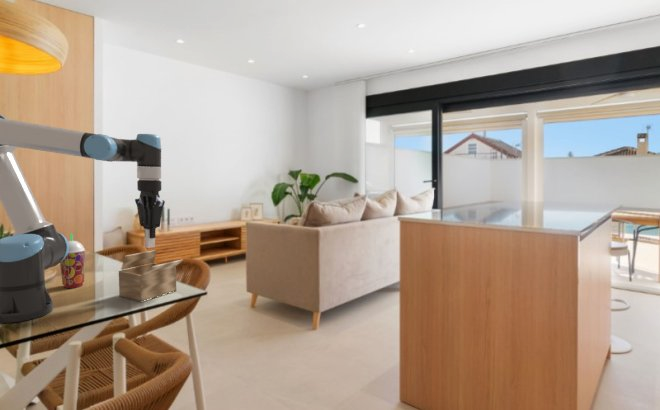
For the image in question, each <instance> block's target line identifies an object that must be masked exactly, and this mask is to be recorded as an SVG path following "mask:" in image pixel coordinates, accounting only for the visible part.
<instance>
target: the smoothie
mask: <svg viewBox="0 0 660 410" xmlns="http://www.w3.org/2000/svg"><path fill="white" fill-rule="evenodd" d="M67 241H68V243H69V251H68V254H67V256H66V257H65V259H64V260H63V261H61V262H60V263H59V266H60V273H61V280H62V281H61V282H62V285H63V287H64V288H65V289H76V288H80V287H82V286H83V284H84V282H85V269H86V267H85V264H86V248H84V245H83V244H82V243H80V242H79V241H77V240H74V236H73V233H70V240H67Z"/></svg>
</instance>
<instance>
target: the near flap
mask: <svg viewBox="0 0 660 410" xmlns="http://www.w3.org/2000/svg"><path fill="white" fill-rule="evenodd" d="M183 261H184V259H183V258H181V259H178V260H173V261H169V262H165V263H161V264H160V263H159V264H160V265H155V266H152V267H151V268H149V269H148V270H147V271H146V272H145V273H144V274H143V275H146V274H150V273H154V272H158V271H162V270H166V269H170V268H174V267H176V268H177V266H178V265H180V264H181V263H182V262H183Z"/></svg>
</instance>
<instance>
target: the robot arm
mask: <svg viewBox="0 0 660 410" xmlns="http://www.w3.org/2000/svg"><path fill="white" fill-rule="evenodd" d="M17 148H23V149H28V150H34V151H35V150H36V151H39V152H40V151H41V152H49V153H54V154H55V153H56V154H63V155H68V156H75V157H81V158H85V159H92V160H93V159H94V160H97V161H102V162H103V161H104V162H124V163H125V162H132V163H133V162H135V163H136V178H137V179H138V180H137V191H139V192H140V194H139V198H135V199H134V202H135V204H136V208H137V213H138V220H139V226H140V227H142V228H143V229H144V239H145V244H144V245H145V248H146V249H151V248H155V247H156V229H158V228H160V226H161V222H162V215H163V210H164V209H163V208H164V205H165V204H166V201H165V200H164V199H163V200H162V199H161V198H160V197H161V196H160V192H161V191H162V181H161V180H160V179H162V143H161V137H160V136H159V135H158V134H152V133H138V134H137V135H136V138H135V139H127V138H126V139H125V138H124V139H122V138H117V137H112V136H109V135H105V134H102V133H97V134H96V133H91V132H86V131H85V132H84V131H80V130H73V129H67V128H62V127H61V128H60V127H57V126H49V125H44V124H37V123H31V122H25V121H21V120H19V121H18V120H16V119H15V120H13V119H9V118H7V117H6V116H4V115H2V114H0V202H1V205H2V207H3V209H4V211H5V214H6V215H7V217H8V219H9V221H10V223H11V225H12V227H13V230H14V233H13V234H12V235H11V236H6V237H2V238H0V324H8V323H19V322H24V321H29V320H34V319H37V318H40V317H43V316H45V315H48V314H50V313H51V312H52V311H53V309H54V302H53V300H52V299H53V298H52V297H51V296H50V294H49V291H48V289H47V286H46V281H45V278H46V277H45V271H47V270H48V269H51V268H53V267H56V266H58V265H60V262H61V261H63V260H64V259H65V257H66V256H67V254H68V251H69V243H68V241H69V240H68V239H67V238H66V236H64V234H62V233H60V232H58V231H57V229H56V228H55V225H54V223H52V222H49V221H47V220H46V219H45V217H44V215H43V212H42V210H41V208H40V206H39V204H38V202H37V199H36V198H35V196H34V193H33V191H32V188H31V187H30V185H29V183H28V181H27V179H26V176H25V174H24V172H23V170H22V169H21V165H20V164H19V162H18V160H17V158H16V155H15V154H14V153H15V151H16V149H17Z"/></svg>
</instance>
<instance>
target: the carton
mask: <svg viewBox="0 0 660 410" xmlns="http://www.w3.org/2000/svg"><path fill="white" fill-rule="evenodd" d="M155 265H160V263H150V264H146V265H141V266H137V267H132V268H128V269H123V270H121V269H120V270H118V292H119V295H118V296H119V297H120V298H124V299H128V300H131V301H135V300H136V301H135V302H139V301H144V300H147V299H150V298H154V297H157V296H160V297H162V296H161V295H163V294H166V293H169V292H173V291H176V292H177V266H176V267H174V268H170V269H166V270H162V271H158V272H154V273H150V274H146V275H143V274H144V273H145V272H146V271H147V270H148V269H149V268H151V267H152V266H155ZM173 293H174V292H173ZM157 298H158V297H157ZM154 299H155V298H154ZM144 302H145V301H144Z"/></svg>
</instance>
